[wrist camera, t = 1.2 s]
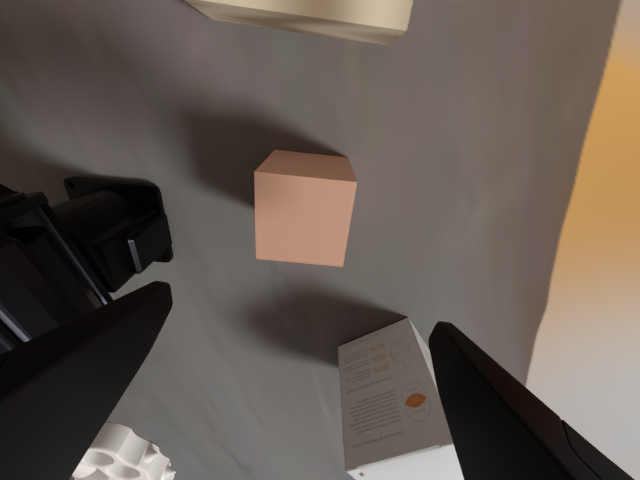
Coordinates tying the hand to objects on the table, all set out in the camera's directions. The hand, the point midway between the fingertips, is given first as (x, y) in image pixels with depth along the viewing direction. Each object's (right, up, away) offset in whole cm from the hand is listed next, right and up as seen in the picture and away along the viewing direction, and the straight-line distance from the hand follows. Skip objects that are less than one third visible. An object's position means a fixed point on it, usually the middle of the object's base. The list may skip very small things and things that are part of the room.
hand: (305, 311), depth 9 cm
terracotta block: (0, +6, +10) cm, 12 cm away
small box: (+7, -9, +18) cm, 22 cm away
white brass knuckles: (-29, -30, +31) cm, 52 cm away
